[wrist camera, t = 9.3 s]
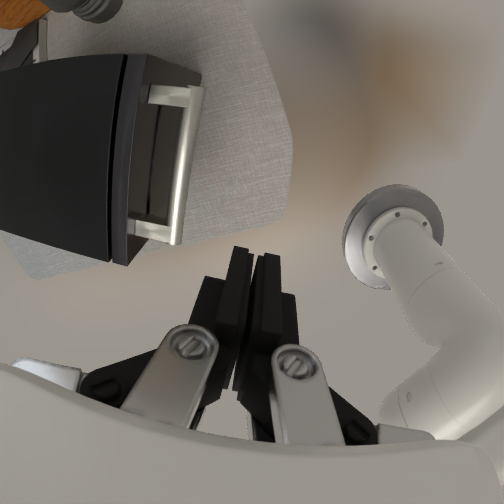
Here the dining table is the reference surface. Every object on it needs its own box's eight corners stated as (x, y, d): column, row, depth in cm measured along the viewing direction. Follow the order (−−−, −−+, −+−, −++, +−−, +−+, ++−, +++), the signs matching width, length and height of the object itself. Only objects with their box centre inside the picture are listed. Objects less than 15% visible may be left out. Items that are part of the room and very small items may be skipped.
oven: (188, 73, 31) (123, 53, 16) (168, 198, 40) (108, 262, 24) (79, 71, 30) (-10, 74, 15) (70, 181, 39) (-7, 227, 23)
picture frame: (47, 20, 25) (-17, 68, 27) (36, 18, 22) (-27, 69, 24) (50, 99, 32) (-13, 135, 34) (38, 100, 30) (-22, 139, 32)
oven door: (234, 79, 31) (204, 57, 16) (209, 207, 40) (171, 277, 25) (190, 73, 31) (128, 53, 16) (169, 199, 40) (112, 262, 24)
